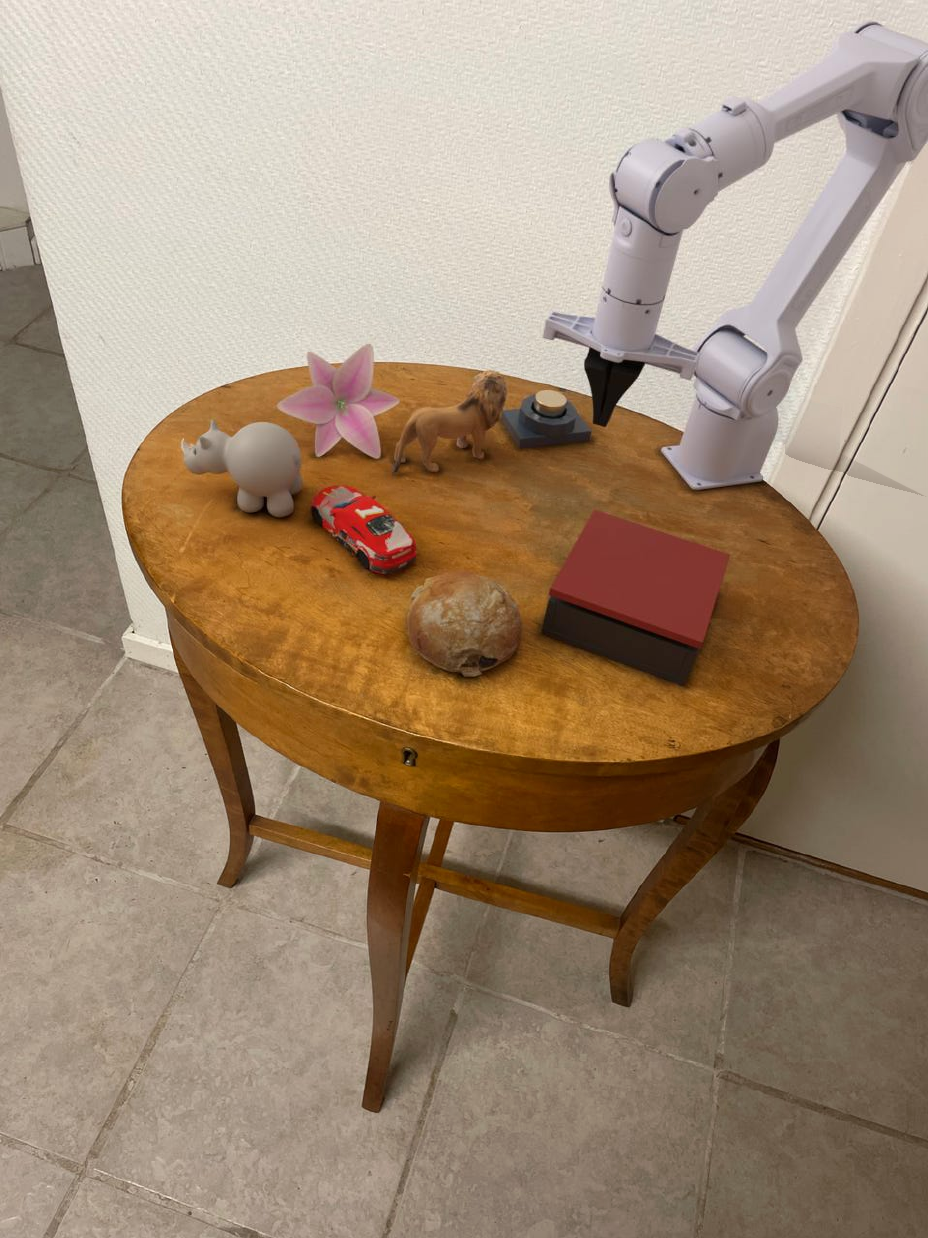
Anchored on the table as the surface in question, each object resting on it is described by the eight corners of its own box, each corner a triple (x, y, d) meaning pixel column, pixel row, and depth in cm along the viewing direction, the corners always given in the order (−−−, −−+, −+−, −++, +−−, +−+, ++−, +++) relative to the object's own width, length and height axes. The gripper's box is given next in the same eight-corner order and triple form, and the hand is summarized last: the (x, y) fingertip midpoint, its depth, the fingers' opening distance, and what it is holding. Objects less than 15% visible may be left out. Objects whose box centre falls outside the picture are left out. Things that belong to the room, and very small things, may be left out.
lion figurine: (480, 426, 107) (489, 357, 101) (510, 449, 104) (522, 379, 98) (377, 464, 99) (381, 392, 93) (407, 490, 97) (413, 417, 90)
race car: (301, 511, 92) (300, 479, 90) (346, 494, 95) (347, 462, 92) (377, 586, 86) (379, 553, 83) (423, 565, 89) (426, 533, 86)
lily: (263, 446, 101) (272, 403, 93) (305, 365, 106) (318, 316, 97) (362, 493, 103) (380, 456, 94) (400, 411, 108) (420, 368, 99)
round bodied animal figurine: (200, 464, 96) (192, 393, 90) (311, 485, 96) (310, 415, 90) (173, 504, 91) (162, 432, 85) (290, 527, 90) (287, 456, 84)
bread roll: (422, 703, 81) (447, 675, 74) (382, 599, 83) (402, 563, 76) (518, 671, 85) (551, 642, 78) (477, 573, 87) (505, 537, 80)
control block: (567, 412, 111) (572, 390, 109) (590, 442, 107) (595, 420, 105) (499, 419, 109) (502, 396, 107) (519, 450, 104) (523, 427, 102)
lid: (700, 649, 77) (702, 642, 76) (548, 595, 80) (550, 587, 79) (727, 561, 87) (730, 554, 87) (592, 515, 90) (594, 509, 89)
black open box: (684, 686, 81) (697, 653, 78) (540, 633, 84) (548, 599, 81) (713, 594, 90) (727, 561, 87) (583, 549, 93) (592, 515, 90)
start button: (556, 401, 108) (559, 388, 107) (568, 418, 105) (571, 405, 104) (528, 404, 107) (530, 391, 105) (540, 421, 104) (542, 407, 103)
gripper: (543, 285, 80) (520, 418, 90) (704, 330, 78) (662, 462, 87) (567, 257, 85) (542, 386, 95) (719, 298, 82) (678, 427, 92)
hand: (601, 420), depth 91 cm, fingers closed
